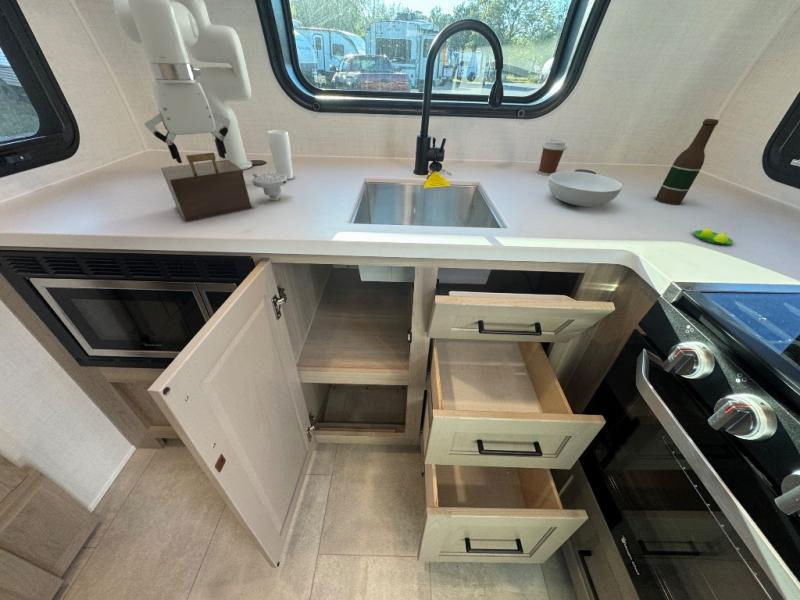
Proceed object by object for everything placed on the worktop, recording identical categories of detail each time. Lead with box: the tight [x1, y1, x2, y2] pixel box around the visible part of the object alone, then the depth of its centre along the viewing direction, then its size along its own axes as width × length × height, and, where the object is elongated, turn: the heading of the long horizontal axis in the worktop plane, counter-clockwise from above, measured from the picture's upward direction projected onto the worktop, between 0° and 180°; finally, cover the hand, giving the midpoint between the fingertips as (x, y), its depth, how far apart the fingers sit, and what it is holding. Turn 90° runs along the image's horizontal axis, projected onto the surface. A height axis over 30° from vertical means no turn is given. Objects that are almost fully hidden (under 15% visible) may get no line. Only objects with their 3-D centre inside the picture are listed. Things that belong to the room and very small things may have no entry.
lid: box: [160, 152, 244, 183], centre depth 81 cm, size 13×17×5 cm
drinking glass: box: [266, 129, 294, 181], centre depth 109 cm, size 7×7×15 cm
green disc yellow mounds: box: [693, 226, 734, 245], centre depth 81 cm, size 8×8×3 cm
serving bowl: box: [548, 170, 623, 207], centre depth 100 cm, size 21×21×7 cm
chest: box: [162, 172, 253, 222], centre depth 86 cm, size 12×17×10 cm
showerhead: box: [252, 172, 288, 202], centre depth 94 cm, size 9×7×10 cm
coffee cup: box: [537, 138, 568, 176], centre depth 126 cm, size 9×9×12 cm
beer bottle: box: [655, 118, 719, 205], centre depth 99 cm, size 8×8×24 cm
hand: (201, 159), depth 77 cm, fingers open, 9 cm apart
